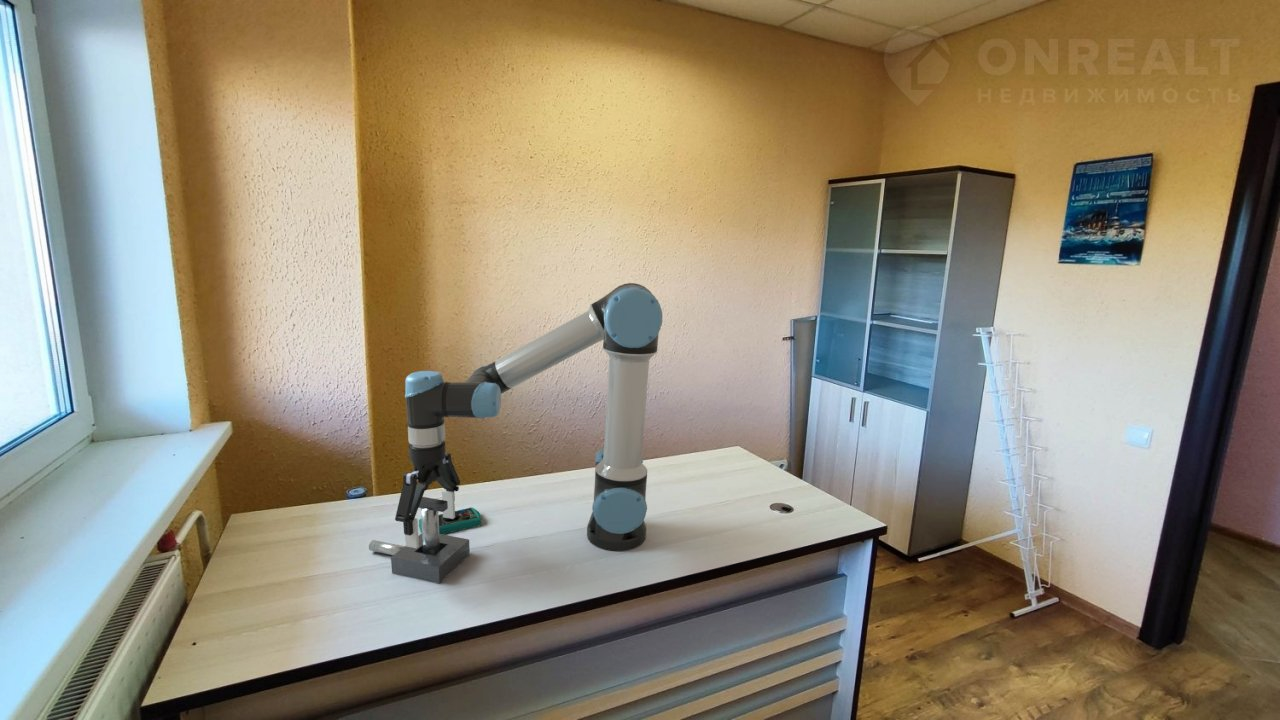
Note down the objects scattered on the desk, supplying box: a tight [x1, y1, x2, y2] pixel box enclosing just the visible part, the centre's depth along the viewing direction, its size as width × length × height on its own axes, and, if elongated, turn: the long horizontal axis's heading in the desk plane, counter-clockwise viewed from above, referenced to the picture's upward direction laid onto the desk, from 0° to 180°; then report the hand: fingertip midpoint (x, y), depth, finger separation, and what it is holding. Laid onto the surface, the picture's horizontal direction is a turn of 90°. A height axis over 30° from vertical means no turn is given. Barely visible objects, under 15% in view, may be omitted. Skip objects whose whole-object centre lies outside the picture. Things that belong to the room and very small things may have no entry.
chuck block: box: [368, 533, 471, 584], centre depth 131 cm, size 22×12×4 cm, turn 75°
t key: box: [418, 496, 448, 556], centre depth 129 cm, size 8×4×16 cm, turn 75°
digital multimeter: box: [418, 506, 482, 535], centre depth 147 cm, size 7×15×3 cm, turn 123°
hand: (431, 531), depth 129 cm, fingers open, 13 cm apart
